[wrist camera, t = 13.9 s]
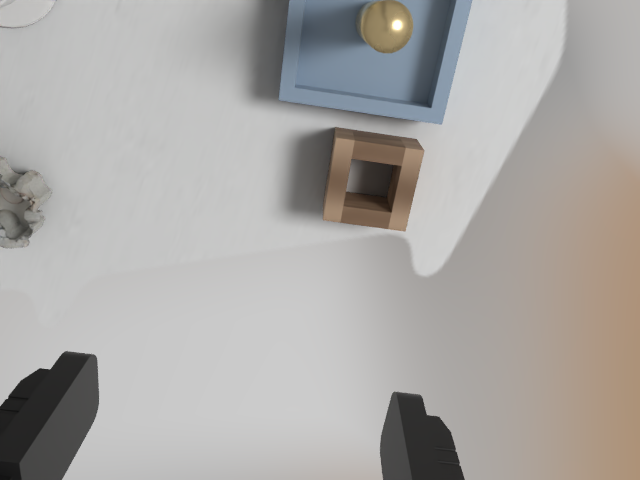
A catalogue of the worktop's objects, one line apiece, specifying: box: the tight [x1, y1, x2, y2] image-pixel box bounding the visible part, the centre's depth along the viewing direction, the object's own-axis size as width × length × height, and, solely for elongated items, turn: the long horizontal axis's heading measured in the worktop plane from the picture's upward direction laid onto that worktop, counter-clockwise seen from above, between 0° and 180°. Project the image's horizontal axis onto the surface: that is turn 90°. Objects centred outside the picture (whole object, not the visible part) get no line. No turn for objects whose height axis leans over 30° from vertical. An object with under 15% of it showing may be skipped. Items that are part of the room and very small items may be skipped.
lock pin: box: [355, 0, 413, 53], centre depth 38 cm, size 3×3×10 cm
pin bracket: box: [323, 127, 424, 231], centre depth 47 cm, size 8×8×4 cm
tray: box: [279, 0, 472, 124], centre depth 42 cm, size 14×14×3 cm
